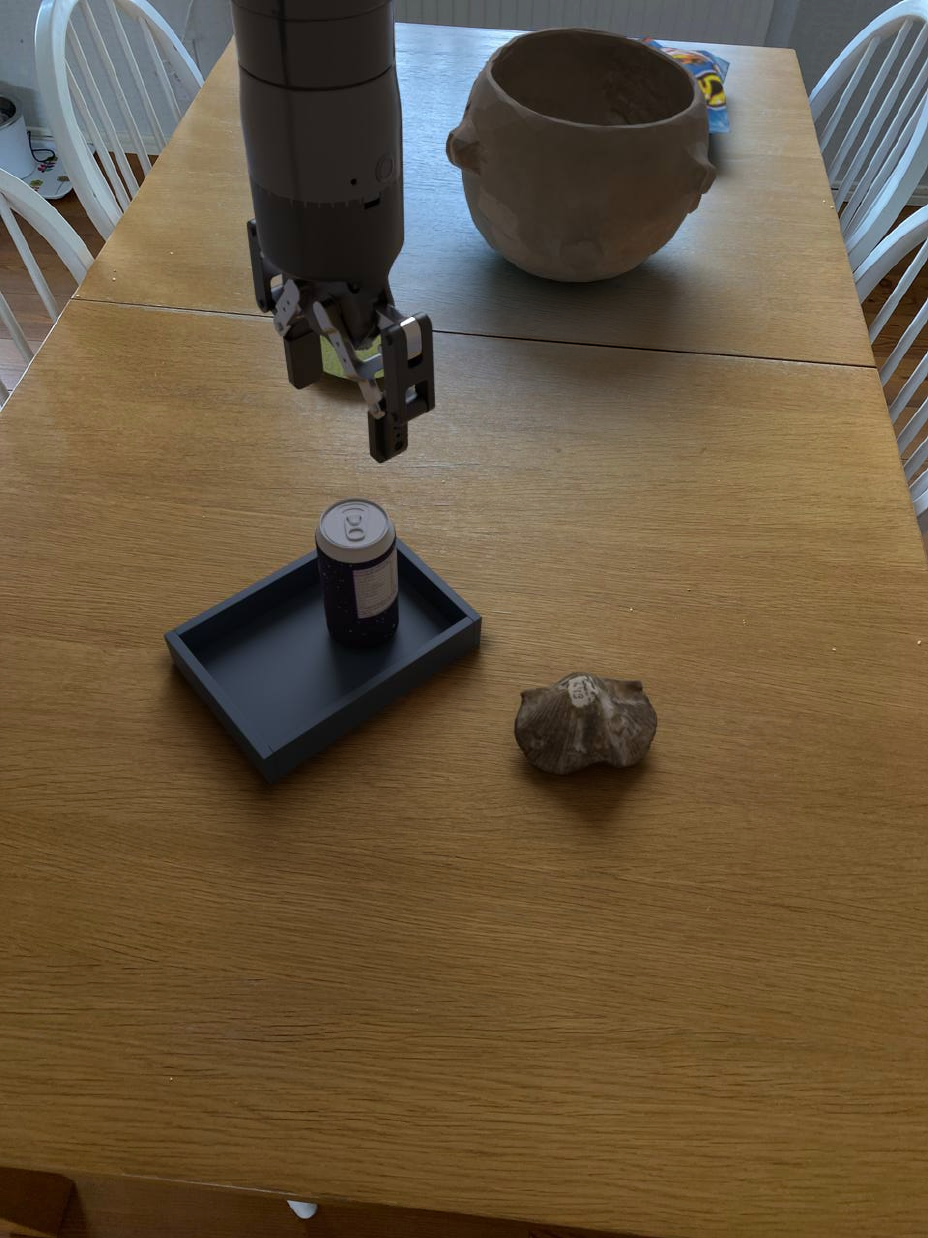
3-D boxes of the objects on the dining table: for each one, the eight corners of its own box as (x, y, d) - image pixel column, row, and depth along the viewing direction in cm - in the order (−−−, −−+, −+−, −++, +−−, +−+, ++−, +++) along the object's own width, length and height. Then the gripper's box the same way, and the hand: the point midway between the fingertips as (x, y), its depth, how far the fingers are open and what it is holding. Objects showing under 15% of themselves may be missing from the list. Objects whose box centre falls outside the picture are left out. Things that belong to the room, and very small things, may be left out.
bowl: (691, 205, 118) (733, 25, 102) (683, 345, 101) (731, 155, 85) (473, 178, 120) (480, -2, 104) (428, 310, 103) (428, 119, 87)
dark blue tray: (270, 784, 68) (263, 759, 65) (173, 662, 74) (163, 634, 71) (480, 644, 76) (482, 617, 73) (376, 544, 82) (375, 515, 79)
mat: (439, 347, 99) (439, 331, 98) (380, 408, 93) (379, 392, 91) (348, 313, 102) (346, 297, 101) (285, 370, 96) (283, 353, 95)
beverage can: (394, 595, 78) (390, 489, 69) (403, 651, 75) (400, 547, 65) (324, 603, 77) (310, 497, 68) (330, 660, 74) (316, 557, 64)
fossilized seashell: (659, 678, 72) (526, 670, 74) (659, 671, 65) (513, 663, 67) (654, 780, 71) (520, 769, 73) (654, 783, 64) (506, 771, 66)
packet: (592, 157, 124) (603, 88, 118) (603, 77, 139) (613, 11, 132) (726, 172, 123) (744, 103, 117) (723, 89, 138) (739, 24, 131)
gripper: (181, 121, 48) (232, 383, 61) (348, 247, 42) (366, 510, 54) (306, 82, 51) (329, 339, 64) (480, 193, 45) (467, 454, 58)
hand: (346, 417), depth 59 cm, fingers open, 8 cm apart
